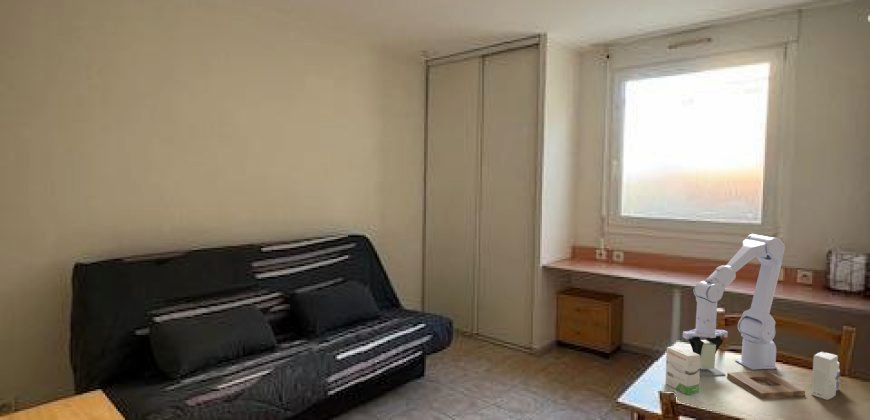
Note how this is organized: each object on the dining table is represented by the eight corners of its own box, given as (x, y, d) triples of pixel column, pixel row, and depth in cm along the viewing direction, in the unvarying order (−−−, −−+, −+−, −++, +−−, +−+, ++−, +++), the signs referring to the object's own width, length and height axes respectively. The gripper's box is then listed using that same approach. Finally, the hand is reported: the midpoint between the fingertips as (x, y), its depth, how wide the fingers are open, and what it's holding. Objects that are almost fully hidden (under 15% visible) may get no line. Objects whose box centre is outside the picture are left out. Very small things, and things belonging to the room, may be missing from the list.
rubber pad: (706, 364, 167) (706, 362, 167) (725, 375, 158) (725, 374, 158) (681, 365, 166) (681, 364, 166) (699, 376, 157) (699, 375, 157)
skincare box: (828, 400, 142) (831, 360, 141) (809, 394, 146) (813, 354, 144) (836, 395, 145) (839, 355, 144) (818, 389, 149) (821, 350, 148)
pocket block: (766, 375, 158) (767, 370, 158) (804, 395, 145) (805, 390, 144) (727, 377, 157) (727, 372, 156) (761, 398, 143) (761, 393, 143)
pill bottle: (833, 392, 147) (836, 365, 146) (815, 386, 151) (817, 359, 150) (841, 389, 149) (844, 362, 148) (823, 382, 153) (825, 356, 152)
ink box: (699, 393, 146) (702, 354, 145) (686, 395, 144) (689, 356, 143) (676, 380, 154) (678, 344, 153) (664, 383, 152) (666, 346, 151)
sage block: (705, 362, 164) (706, 339, 164) (714, 368, 160) (715, 344, 159) (692, 363, 164) (694, 340, 163) (701, 369, 159) (703, 345, 159)
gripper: (693, 323, 155) (691, 364, 157) (735, 321, 157) (732, 362, 159) (679, 316, 162) (677, 356, 164) (720, 314, 164) (717, 354, 166)
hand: (703, 358), depth 162 cm, fingers closed on sage block, 4 cm apart
